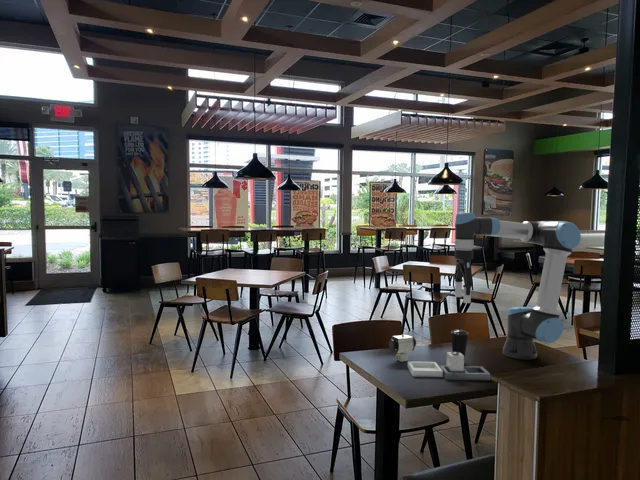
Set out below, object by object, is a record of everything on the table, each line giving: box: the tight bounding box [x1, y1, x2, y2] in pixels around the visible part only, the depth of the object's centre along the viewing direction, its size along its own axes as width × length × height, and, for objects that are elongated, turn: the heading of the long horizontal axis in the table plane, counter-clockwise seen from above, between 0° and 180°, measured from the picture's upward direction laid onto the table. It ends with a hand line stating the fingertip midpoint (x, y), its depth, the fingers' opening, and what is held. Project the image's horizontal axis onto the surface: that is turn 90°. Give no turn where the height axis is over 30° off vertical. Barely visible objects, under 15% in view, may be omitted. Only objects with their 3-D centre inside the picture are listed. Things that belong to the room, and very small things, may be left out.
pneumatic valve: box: [388, 333, 417, 363], centre depth 219 cm, size 6×12×12 cm, turn 113°
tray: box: [407, 360, 444, 378], centre depth 204 cm, size 12×12×2 cm
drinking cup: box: [450, 317, 470, 361], centre depth 218 cm, size 8×8×20 cm
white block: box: [445, 351, 465, 373], centre depth 200 cm, size 6×6×10 cm
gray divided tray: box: [439, 365, 492, 381], centre depth 200 cm, size 18×10×2 cm, turn 91°
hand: (462, 299), depth 205 cm, fingers open, 13 cm apart
